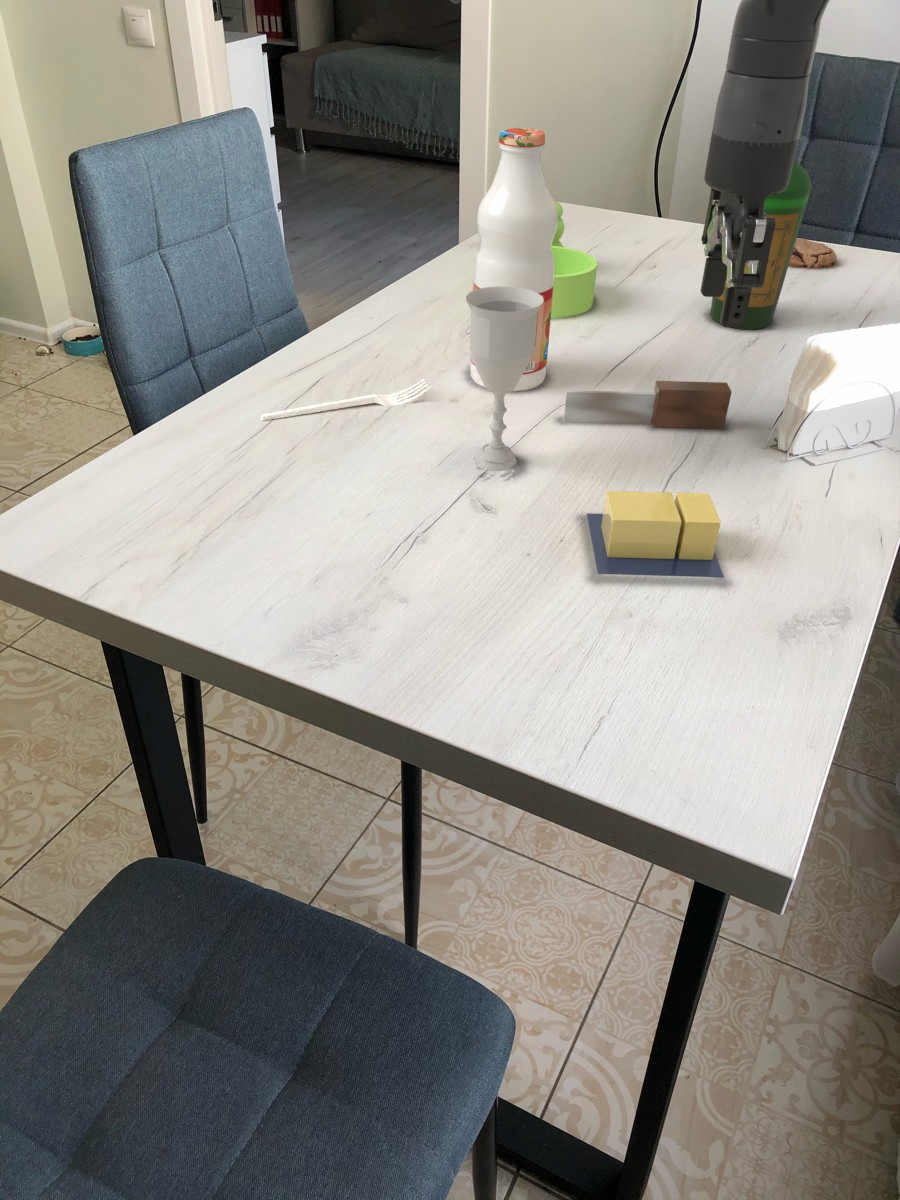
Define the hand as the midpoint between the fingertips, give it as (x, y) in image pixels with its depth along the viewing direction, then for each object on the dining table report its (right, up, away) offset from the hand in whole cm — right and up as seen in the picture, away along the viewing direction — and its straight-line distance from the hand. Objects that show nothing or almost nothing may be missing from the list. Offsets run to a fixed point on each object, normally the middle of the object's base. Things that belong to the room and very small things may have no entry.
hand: (720, 310), depth 93 cm
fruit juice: (-20, -1, +24) cm, 31 cm away
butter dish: (-8, -24, -6) cm, 27 cm away
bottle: (+15, +11, +42) cm, 45 cm away
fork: (-39, -7, +16) cm, 43 cm away
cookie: (+32, +28, +65) cm, 78 cm away
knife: (-5, -9, +14) cm, 17 cm away
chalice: (-22, -15, +6) cm, 27 cm away
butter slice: (-5, -24, -7) cm, 25 cm away
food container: (-13, +18, +50) cm, 55 cm away
